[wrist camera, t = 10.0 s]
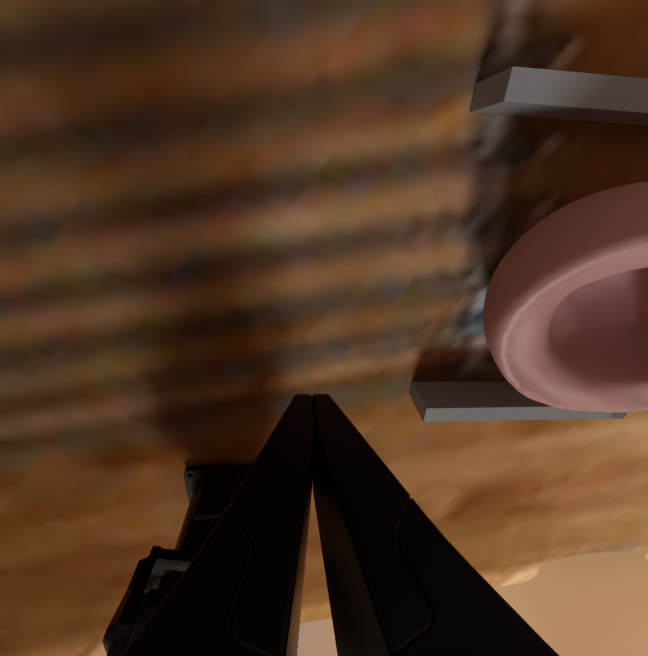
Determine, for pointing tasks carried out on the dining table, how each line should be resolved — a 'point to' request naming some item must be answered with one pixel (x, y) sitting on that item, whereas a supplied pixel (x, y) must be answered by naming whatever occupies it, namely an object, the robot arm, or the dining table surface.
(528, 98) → the grey frame
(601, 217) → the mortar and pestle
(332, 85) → the dining table surface
